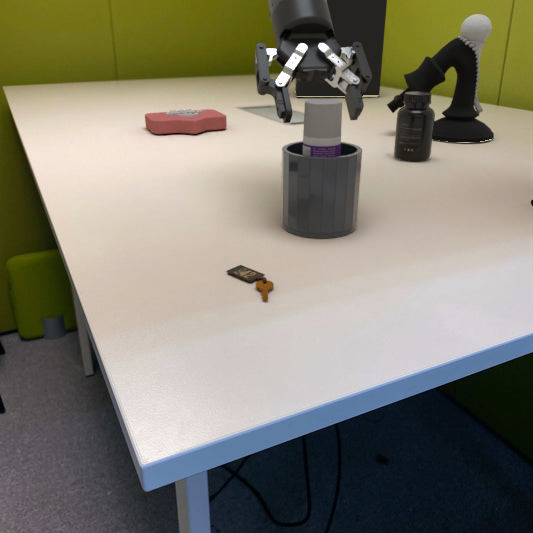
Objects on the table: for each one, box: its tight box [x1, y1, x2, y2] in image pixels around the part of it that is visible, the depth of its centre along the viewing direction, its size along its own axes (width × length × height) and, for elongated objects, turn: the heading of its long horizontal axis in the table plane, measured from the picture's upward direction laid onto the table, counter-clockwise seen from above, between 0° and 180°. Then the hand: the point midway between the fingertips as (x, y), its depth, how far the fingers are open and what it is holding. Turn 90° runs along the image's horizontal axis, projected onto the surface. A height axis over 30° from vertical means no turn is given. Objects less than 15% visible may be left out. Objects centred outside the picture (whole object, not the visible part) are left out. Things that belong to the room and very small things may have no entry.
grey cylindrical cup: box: [280, 140, 363, 239], centre depth 70 cm, size 10×10×10 cm
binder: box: [294, 0, 388, 97], centre depth 179 cm, size 27×15×32 cm, turn 89°
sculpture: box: [386, 13, 495, 143], centre depth 118 cm, size 15×24×25 cm, turn 82°
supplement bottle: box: [393, 91, 436, 163], centre depth 102 cm, size 7×7×12 cm
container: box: [302, 98, 343, 157], centre depth 69 cm, size 5×5×15 cm
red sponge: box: [144, 108, 228, 135], centre depth 131 cm, size 18×4×15 cm
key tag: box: [226, 264, 275, 301], centre depth 56 cm, size 8×3×1 cm, turn 32°
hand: (322, 117), depth 66 cm, fingers open, 8 cm apart
